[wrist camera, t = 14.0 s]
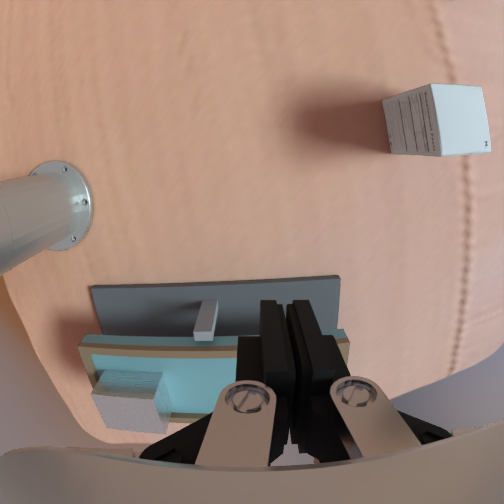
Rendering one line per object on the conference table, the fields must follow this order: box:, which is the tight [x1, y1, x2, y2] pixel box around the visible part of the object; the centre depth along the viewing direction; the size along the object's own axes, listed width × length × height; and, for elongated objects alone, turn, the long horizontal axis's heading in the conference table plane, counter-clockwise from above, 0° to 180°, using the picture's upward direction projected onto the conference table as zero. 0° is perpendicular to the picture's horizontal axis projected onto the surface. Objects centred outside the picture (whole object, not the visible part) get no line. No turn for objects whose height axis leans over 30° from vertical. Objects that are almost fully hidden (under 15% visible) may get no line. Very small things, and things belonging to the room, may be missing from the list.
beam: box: [77, 329, 350, 423], centre depth 36 cm, size 32×12×3 cm, turn 93°
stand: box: [91, 275, 341, 341], centre depth 40 cm, size 34×20×9 cm, turn 93°
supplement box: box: [382, 84, 491, 157], centre depth 29 cm, size 7×7×13 cm
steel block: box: [91, 369, 173, 434], centre depth 34 cm, size 8×6×5 cm
